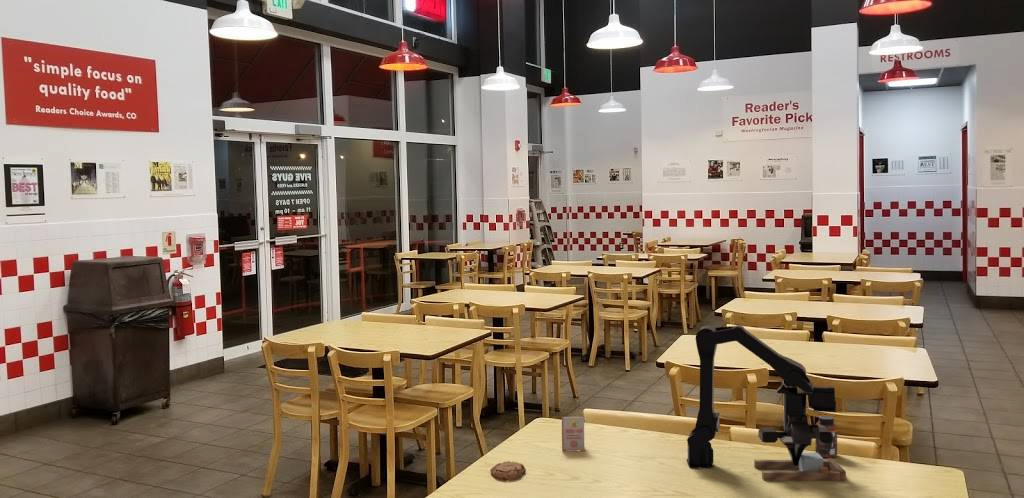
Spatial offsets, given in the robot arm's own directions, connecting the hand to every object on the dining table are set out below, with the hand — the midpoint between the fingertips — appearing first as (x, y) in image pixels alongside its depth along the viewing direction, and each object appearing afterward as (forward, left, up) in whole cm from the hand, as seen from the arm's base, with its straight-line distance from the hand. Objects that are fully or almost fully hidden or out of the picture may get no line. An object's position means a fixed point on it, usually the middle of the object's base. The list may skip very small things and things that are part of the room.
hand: (795, 465), depth 218 cm
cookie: (-79, -2, -3) cm, 79 cm away
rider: (+4, 0, -2) cm, 5 cm away
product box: (-61, +21, -2) cm, 64 cm away
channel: (0, 0, -2) cm, 2 cm away
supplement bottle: (+13, +16, -2) cm, 21 cm away
